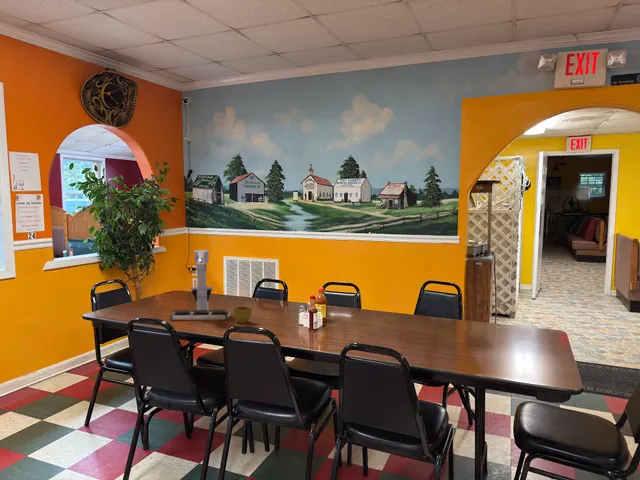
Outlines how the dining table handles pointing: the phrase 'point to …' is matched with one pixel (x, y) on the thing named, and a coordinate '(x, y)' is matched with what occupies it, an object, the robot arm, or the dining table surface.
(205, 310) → the rocker
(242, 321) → the flower pot
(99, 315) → the dining table surface
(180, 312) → the grey rectangular frame
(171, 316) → the grey switch panel
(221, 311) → the panel
